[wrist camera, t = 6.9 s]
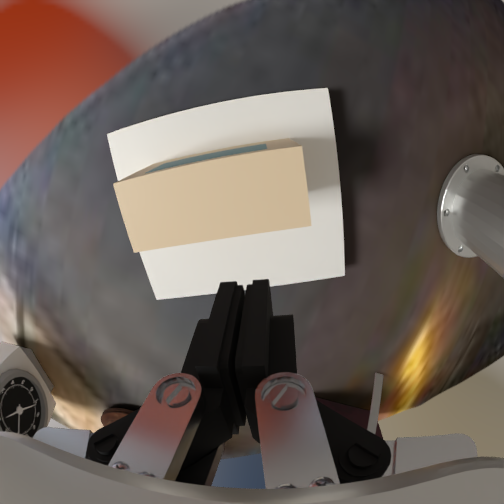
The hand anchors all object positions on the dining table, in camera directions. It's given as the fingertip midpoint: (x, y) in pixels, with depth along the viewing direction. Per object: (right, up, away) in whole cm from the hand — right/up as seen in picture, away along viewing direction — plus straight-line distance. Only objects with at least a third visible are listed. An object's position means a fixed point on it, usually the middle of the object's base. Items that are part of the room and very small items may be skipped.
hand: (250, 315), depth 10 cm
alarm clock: (-43, -20, +32) cm, 58 cm away
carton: (-2, +5, +12) cm, 13 cm away
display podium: (-2, +7, +17) cm, 19 cm away
